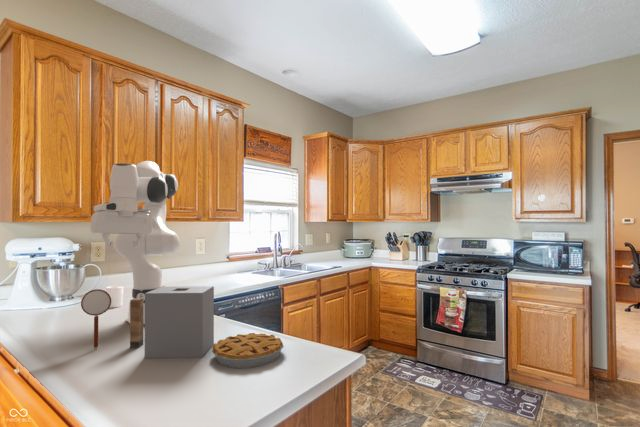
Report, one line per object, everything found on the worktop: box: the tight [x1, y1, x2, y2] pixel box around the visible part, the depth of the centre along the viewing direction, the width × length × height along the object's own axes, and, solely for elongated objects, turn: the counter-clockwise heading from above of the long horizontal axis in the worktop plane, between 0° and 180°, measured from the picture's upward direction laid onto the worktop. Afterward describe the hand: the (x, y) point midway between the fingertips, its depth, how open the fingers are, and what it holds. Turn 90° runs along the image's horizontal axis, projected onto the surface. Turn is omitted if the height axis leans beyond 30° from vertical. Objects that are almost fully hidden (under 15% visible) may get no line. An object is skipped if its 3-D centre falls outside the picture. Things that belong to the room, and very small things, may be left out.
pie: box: [211, 332, 285, 369], centre depth 112 cm, size 22×22×5 cm
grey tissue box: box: [144, 285, 215, 359], centre depth 117 cm, size 12×18×20 cm, turn 90°
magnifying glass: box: [80, 288, 111, 351], centre depth 119 cm, size 9×2×20 cm, turn 114°
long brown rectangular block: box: [129, 298, 144, 349], centre depth 122 cm, size 3×3×16 cm
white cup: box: [105, 285, 125, 309], centre depth 183 cm, size 8×8×10 cm
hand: (123, 246), depth 125 cm, fingers open, 8 cm apart
